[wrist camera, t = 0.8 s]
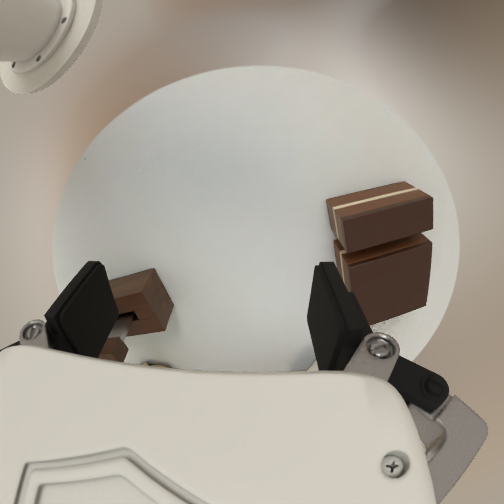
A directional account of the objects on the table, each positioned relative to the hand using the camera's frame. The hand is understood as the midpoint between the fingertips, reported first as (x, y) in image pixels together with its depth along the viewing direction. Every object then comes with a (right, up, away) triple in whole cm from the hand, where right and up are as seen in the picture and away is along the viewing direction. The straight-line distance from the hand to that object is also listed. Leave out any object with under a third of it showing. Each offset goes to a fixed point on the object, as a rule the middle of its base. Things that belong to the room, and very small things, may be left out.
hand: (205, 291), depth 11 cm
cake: (+17, 0, +21) cm, 27 cm away
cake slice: (+15, +7, +17) cm, 24 cm away
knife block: (-15, -4, +23) cm, 28 cm away
